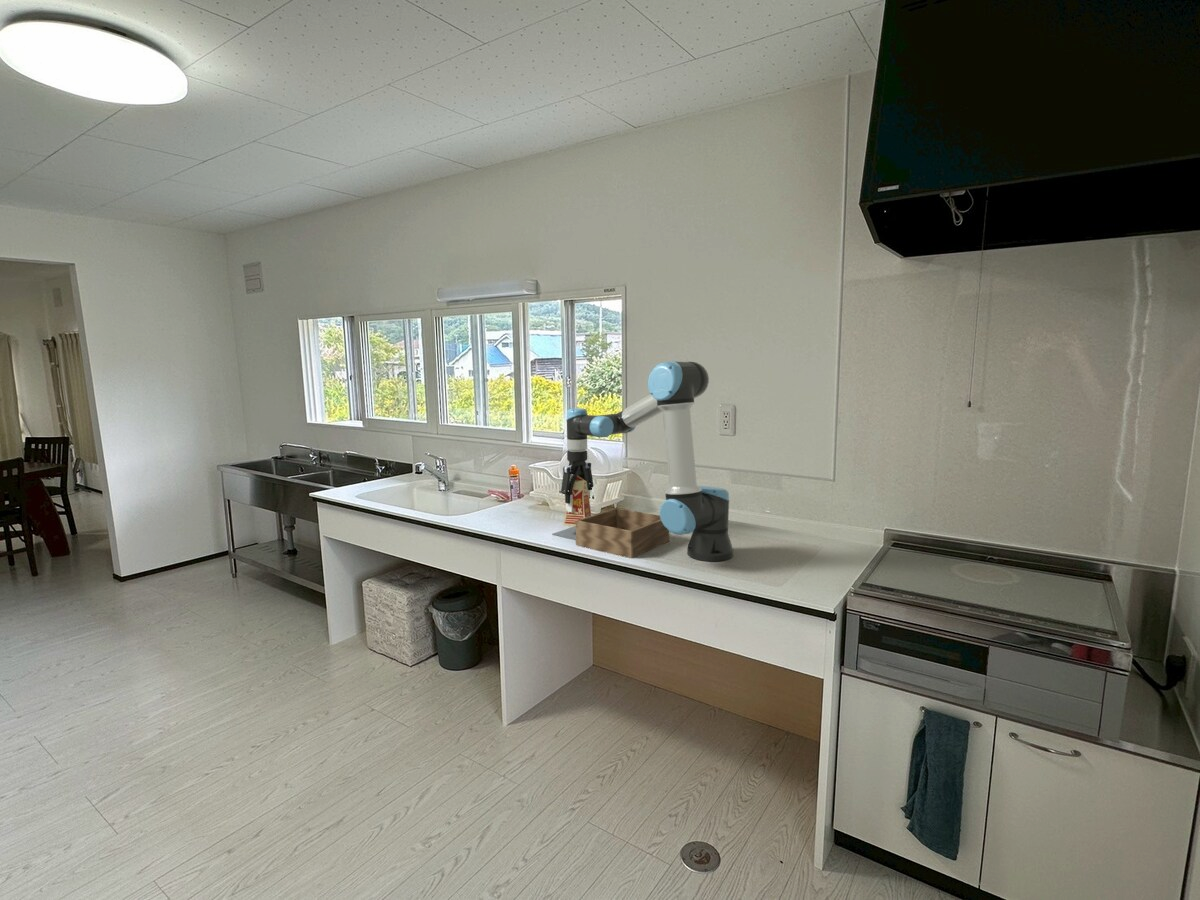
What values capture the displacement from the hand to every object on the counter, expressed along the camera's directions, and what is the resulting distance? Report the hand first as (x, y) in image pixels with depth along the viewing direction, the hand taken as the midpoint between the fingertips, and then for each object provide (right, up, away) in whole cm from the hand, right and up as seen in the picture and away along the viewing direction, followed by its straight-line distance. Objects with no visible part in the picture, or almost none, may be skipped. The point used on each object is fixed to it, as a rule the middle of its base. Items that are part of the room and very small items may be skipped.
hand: (577, 509), depth 231 cm
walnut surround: (+17, -11, -11) cm, 23 cm away
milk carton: (0, -6, +1) cm, 6 cm away
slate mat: (0, -10, +1) cm, 10 cm away
